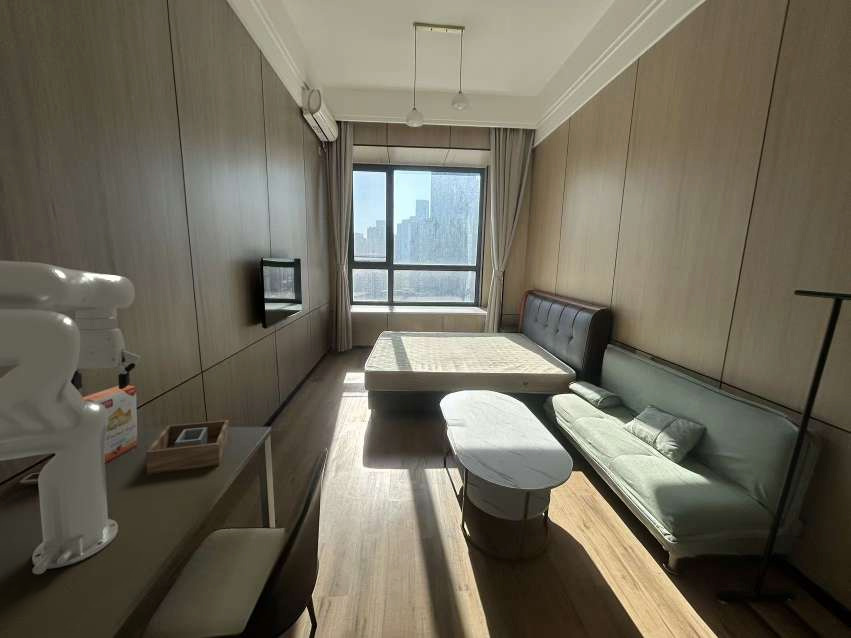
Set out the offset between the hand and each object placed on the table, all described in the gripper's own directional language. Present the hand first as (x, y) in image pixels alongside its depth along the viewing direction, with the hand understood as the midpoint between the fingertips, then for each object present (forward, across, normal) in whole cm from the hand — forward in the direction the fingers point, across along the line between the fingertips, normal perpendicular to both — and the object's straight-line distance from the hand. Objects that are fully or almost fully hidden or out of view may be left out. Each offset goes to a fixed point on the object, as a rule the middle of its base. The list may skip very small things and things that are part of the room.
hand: (100, 388), depth 87 cm
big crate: (+27, +17, +12) cm, 34 cm away
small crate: (+26, +17, +12) cm, 34 cm away
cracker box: (+27, -6, +18) cm, 33 cm away
